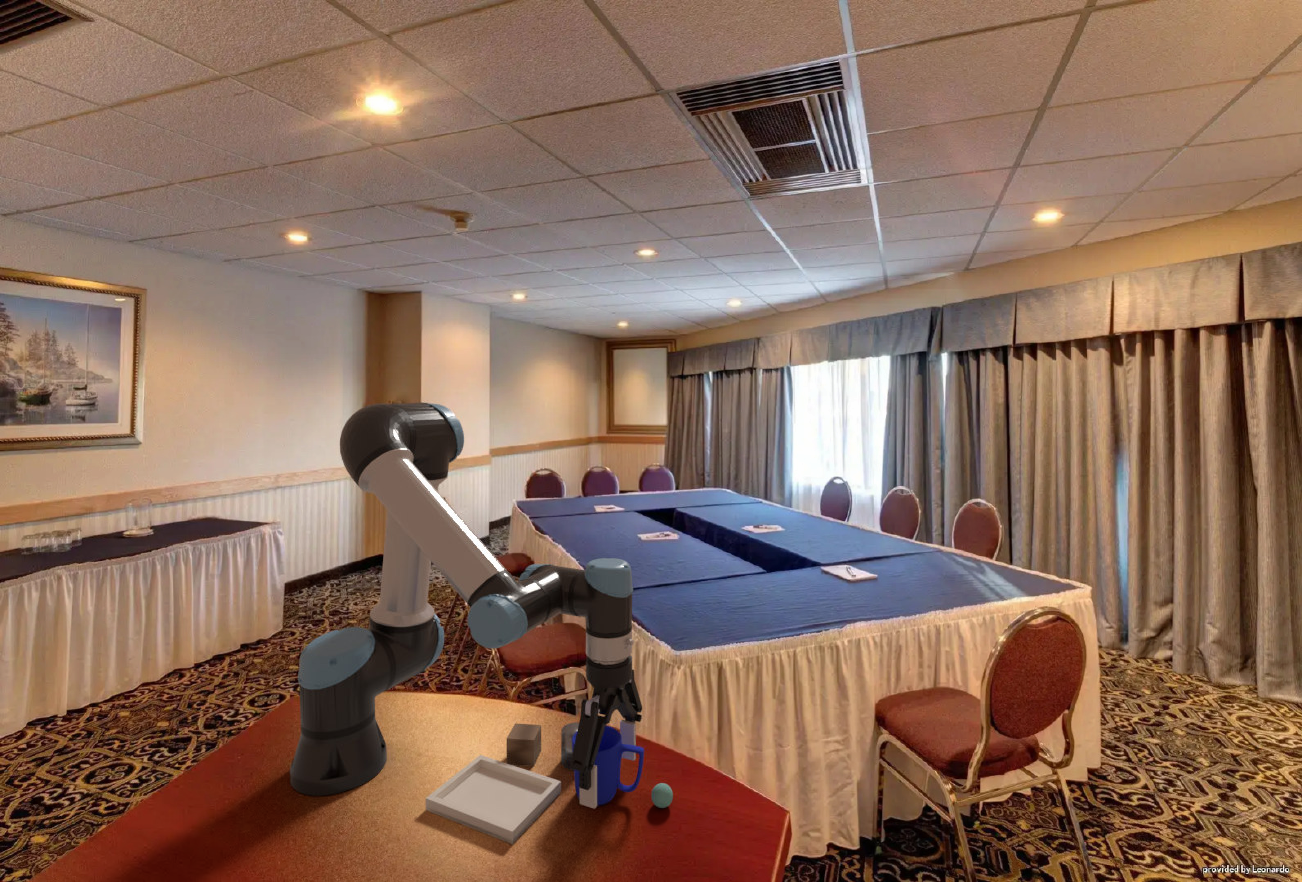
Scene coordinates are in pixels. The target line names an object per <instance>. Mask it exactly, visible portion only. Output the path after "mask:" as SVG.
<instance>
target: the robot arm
mask: <svg viewBox="0 0 1302 882" xmlns="http://www.w3.org/2000/svg"><path fill="white" fill-rule="evenodd" d="M464 435H465V433H464V429H463V426H462V423H461V421H460V419H458V417H456V414H455V413H454V411H452V410H451V409H450V408H448V407H447V406H444V405H442V404H437V403H431V402H421V401H420V402H406V403H405V402H403V403H397V402H396V403H385V402H383V403H373V404H370V405H369V404H368V405H366V406H364V407H361V408H359V409H358V410H357V411H355V412H354V413H353V414H351V416H350V417H349V418H348V419H347V421H346V422H345V423H344V426H343V427H342V429H341V432H340V436H339V437H340V439H339V451H340V452H339V453H340V457H341V460H342V463H343V466H344V467H345V469H346V471H347V473H348V475H349V476H350V478H351V479H352V480H353V481H354V483H355V484H356V485H357V486H358V487H359V489H360V490H361V491H362V492H364V493H370V494H372V493H373V495H374V496H375V497H376V498H377V500H378V501H379V502H380V503H381V504H382V505H383V506H384V508H385V509H386V510H387V511H386V521H385V523H386V524H385V535H384V548H383V556H382V557H383V559H382V560H383V561H382V571H381V580H380V581H381V583H380V593H379V594H380V596H379V602H378V603H377V604H376V605H375V606H373V607H372V608H371V610H370V612H369V618H368V619H369V624H368V628H365V627H360V626H352V627H350V626H349V627H344V628H342V629H341V630H338V629H334V630H332V631H328V632H327V633H324V634H321V635H320V636H318V637H316V638H314V639H313V640H312V641H310V642H309V643H308V644H307V645H306V646H305V647H304V648H303V650H302V651H301V654H300V657H299V661H298V662H299V667H298V674H297V680H298V683H299V709H300V710H299V711H300V712H299V713H300V718H299V719H300V736H299V740H298V743H297V747H296V749H295V753H294V757H293V758H292V761H291V764H290V767H289V768H290V769H289V777H290V780H289V781H290V785H291V787H292V788H293V789H294V790H295V791H297V792H298V793H300V794H303V795H307V796H314V797H315V796H317V797H319V796H329V795H335V794H341V793H345V792H347V791H349V790H353V789H356V788H357V787H360V786H362V785H363V784H366V783H367V782H369V781H370V780H372V779H373V778H375V777H376V776H377V775H378V774H379V773H380V772H381V771H382V770H383V768H384V767H385V765H386V763H387V757H388V756H387V754H388V750H387V744H386V741H385V739H384V736H383V733H382V731H381V728H380V726H379V724H378V721H377V718H376V697H377V696H379V695H380V694H383V693H384V692H386V691H388V690H389V689H392V688H393V687H395V686H397V685H399V684H401V683H403V682H404V681H407V680H408V679H410V678H412V677H414V676H415V677H416V676H417V675H419V674H421V673H423V672H424V671H425V670H427V668H429V667H430V666H432V665H433V664H434V663H436V661H437V660H438V659H439V657H440V655H441V653H442V652H443V649H444V645H445V644H444V643H445V631H444V626H441V625H440V624H441V622H442V621H441V620H440V618H439V617H438V616H437V614H436V613H435V608H434V607H433V606H432V605H431V604H430V603H429V602H428V598H429V588H430V577H431V576H430V575H431V567H432V564H433V565H434V566H435V568H436V569H437V570H438V571H439V572H440V574H441V575H442V576H443V577H444V578H445V580H446V581H447V582H448V583H449V585H450V586H451V587H453V589H454V590H455V591H456V593H457V594H458V595H459V596H460V597H461V598H462V599H463V601H464V602H465V603H466V604H467V606H468V607H469V610H468V612H467V613H468V614H467V620H466V621H467V622H466V623H467V627H469V630H470V635H471V637H472V638H473V640H474V642H476V643H477V644H478V645H480V646H482V647H483V648H487V649H491V650H492V649H493V650H494V649H499V648H502V647H504V646H507V645H509V644H511V643H513V642H515V641H517V640H519V639H521V638H522V637H523V636H525V635H526V634H527V633H529V632H531V631H533V630H534V629H535V628H537V627H538V626H541V625H542V624H545V623H546V622H548V621H549V620H551V619H552V618H555V617H556V616H558V615H560V614H561V615H568V616H573V617H580V618H581V617H583V618H585V654H586V658H585V678H586V680H587V682H588V684H590V685H591V686H592V688H593V689H592V695H591V698H590V699H584V698H583V699H582V700H581V704H580V705H581V706H580V717H579V726H578V731H577V735H576V740H575V745H574V749H573V754H572V759H571V763H570V768H571V769H574V770H577V771H579V786H580V799H579V805H581V806H584V807H588V808H591V809H596V808H597V807H598V806H597V766H596V765H594V763H595V760H596V756H597V753H598V750H599V746H600V743H601V740H602V736H603V733H604V729H605V726H607V725H608V724H609V723H610V721H611V719H612V715H613V714H614V712H615V711H618V713H619V714H620V715H621V717H622V718H623V719H621V720H620V721H619V733H620V734H621V737H622V744H628V745H635V746H637V745H636V741H637V732H636V731H637V728H636V727H637V726H636V724H637V723H636V722H638V723H640V722H641V721H642V717H643V716H642V714H639V713H642V712H643V704H642V702H641V701H642V700H641V697H640V695H639V692H638V687H637V684H636V680H635V670H634V669H633V657H632V653H633V645H634V643H635V640H634V639H633V623H632V622H633V594H634V593H633V592H634V587H633V576H632V574H633V573H632V567H631V564H629V562H627V561H626V560H624V559H621V558H615V557H611V558H610V557H609V558H606V557H602V558H596V559H595V558H594V559H593V560H590V561H589V562H588V563H586V565H585V569H579V568H578V569H577V568H572V567H565V566H560V565H558V566H557V565H555V564H551V563H545V564H544V563H543V564H541V563H534V564H530V565H528V566H527V567H526V568H525V570H524V571H523V573H521V574H520V576H519V579H518V581H517V580H516V579H515V576H513V575H512V574H511V573H510V572H509V571H508V570H507V568H505V566H504V565H503V564H502V563H501V562H500V560H498V558H497V557H496V556H495V555H494V554H493V553H492V551H491V550H490V549H489V548H488V547H487V545H485V543H483V541H482V540H481V539H480V538H479V537H478V536H477V534H476V533H475V532H474V531H473V530H472V529H471V527H469V525H467V523H466V522H465V521H464V520H463V518H462V517H461V516H460V515H459V514H458V513H457V512H456V511H455V509H454V508H453V507H452V506H451V505H450V504H449V503H448V502H447V500H446V499H445V498H444V497H443V495H441V493H440V492H439V486H440V485H441V484H442V483H443V482H444V481H445V480H447V479H448V477H449V466H450V463H452V462H454V461H455V460H457V458H458V457H459V456H460V455H461V453H462V452H463V448H464V445H465V436H464ZM599 714H600V715H599ZM636 754H637V753H634V752H623V753H622V758H621V759H626V760H630V761H633V762H634V761H636V760H637V756H636ZM574 770H573V771H574Z"/></svg>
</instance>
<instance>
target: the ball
mask: <svg viewBox="0 0 1302 882" xmlns="http://www.w3.org/2000/svg"><path fill="white" fill-rule="evenodd" d="M650 795H651V797H650V798H651V801H652V803H653V805H655V807H657V808H659V809H664V808H667V807H669V806H670V804H671V803H672V802H673V798H674V793H673V790H672V788H671V786H670V785H669V784H667V783H663V782H661V783H658V784H656V785H654V787H653V788H652V790H651V794H650Z"/></svg>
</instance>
